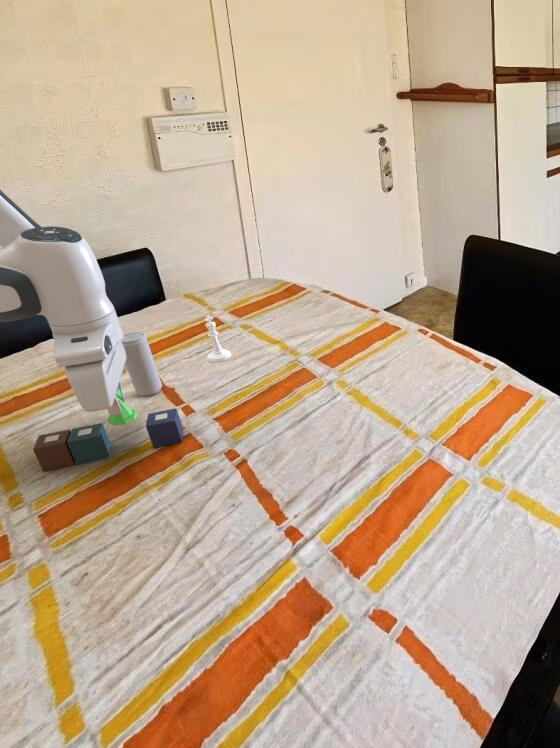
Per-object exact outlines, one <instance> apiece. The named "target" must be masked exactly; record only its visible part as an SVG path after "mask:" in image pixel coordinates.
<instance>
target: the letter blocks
mask: <svg viewBox="0 0 560 748" xmlns="http://www.w3.org/2000/svg"><path fill="white" fill-rule="evenodd" d="M145 429H146V432H147V434H148V437H149V440H150V442H151V445H152V448H153V449H157V448H162V447H166V446H171V445H177V444H181V443H183V438H184V426H183V424H182V421H181V418H180V415H179V411H178V409H177V408H171V409H165V410H159V411H155V412H150V413H148V414H147V417H146V423H145ZM111 447H112V444H111V441H110V438H109V435H108V433H107V431H106V428H105V426H104V423H103V422H99V423H95V424H90V425H84V426H80V427H75V428H72V429H71V428H70V429H64V430H60V431H55V432H54V431H53V432H49V433H45V434H39V435H38V438H37V439H36V441H35V443H34V446H33V448H32V451H33V453H34V455H35V458H36V459H37V461H38V464H39V466H40V468H41V470H42V472H49V471H55V470H59V469H62V468H63V469H64V468H67V467H72V466H75V465H81V464H87V463H91V462H95V461H96V462H97V461H101V460H106V459H108V457H109V453H110V450H111Z"/></svg>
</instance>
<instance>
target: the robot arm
mask: <svg viewBox="0 0 560 748" xmlns="http://www.w3.org/2000/svg"><path fill="white" fill-rule="evenodd" d="M0 247H1V249H0V323H10V322H15V321H20V320H24V319H29V318H32V317H34V316H43V317H45V319H46V321H47V323H48V326H49V328H50V330H51V332H52V338H53V341H54V347H53V348H54V349H53V358H54V361H55V363H56V365H57V366H58V367H59V368H63V367H64V372H65V376H66V379H67V381H68V384H69V385H70V387H71V389H72V391H73V393H74V395H75V397H76V399H77V401H78V404H79V405H80V406H81V408H82V409H83V410H84V411H85V412H87V413H92V412H93V413H94V412H99V411H104V410H107V413H108V414H109V416H110V415H118V414H121V412H122V406H121V403H120V400H121V401H122V402H123V403H124V404H125V401H126V397H125V395H124V392H123V385H122V384H123V383H122V379H121V378H122V374H123V371H124V368H125V366H126V364H125V362H126V352H125V349H124V346H123V344H122V341H121V339H122V338H123V336H124V335H125V333H124V331H123V328H122V325H121V322H120V321H119V318H118V315H117V311H116V309H115V306H114V304H113V303H112V302H111V300H110V299H109V297H108V296H107V295H108V294H107V293H106V281H105V279H104V275H103V272H102V270H101V268H100V265H99V262H98V260H97V258H96V256H95V254H94V251H93V250H92V247H91V246H90V245H89V243H88V241H87V240H86V239H85V238H84V236H82V234H81V233H79V232H78V231H76V230H74V229H71V228H67V227H63V226H49V225H48V226H41V225H40V224H38V222H36V221H35V220H34V219H33V218H32V217H30V215H28V213H26V212H25V211H24V210H23V209H22V208H21V207H20V206H19V205H18V204H17V203H16V202H14V201H13V200H12V199H11V198H10V197H9V196H8V195H7V194H6V193H5V192H4V191H2V190H1V189H0ZM117 389H120V392H121V397H119V399H120V400H119V401H118V399H117V397H116V392H117Z"/></svg>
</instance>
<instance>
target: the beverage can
mask: <svg viewBox="0 0 560 748" xmlns="http://www.w3.org/2000/svg"><path fill="white" fill-rule="evenodd" d="M121 341H122V344H123V346H124V349H125V352H126V362H125V366H126V369H127V372H128V374H129V377H130V380H131V382H132V386H133V388H134V391H135V394H137V395H138V396H141V397H150V396H153V395H156V394H158V393H160V391H161V390H162V388H163V384H162V381H161V378H160V375H159V372H158V368H157V366H156V363H155V360H154V356H153V354H152V350H151V348H150V345H149V342H148V339H147V336H145V333H144V332H142V331H133V332H128V333H124V336H123V338H122V339H121Z"/></svg>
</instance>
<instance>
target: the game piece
mask: <svg viewBox="0 0 560 748" xmlns="http://www.w3.org/2000/svg"><path fill="white" fill-rule="evenodd" d="M116 397H117V399H118V401H119V400H120V399H119V397H121V392H120V389H117V392H116ZM120 403H121V406H122V412H121V414H118V415H110V414H109V416H108V418H107V423H108V425H111V426H113V427H118V426H124V425H127V424H129V423H131V422H133V421H135V420H136V418H137V416H138V413H137V411H136V410H134V409H132V408H130V407H129V406H127V405H126V403H125V402H124V403H123V402H122V401H121V400H120Z"/></svg>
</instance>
